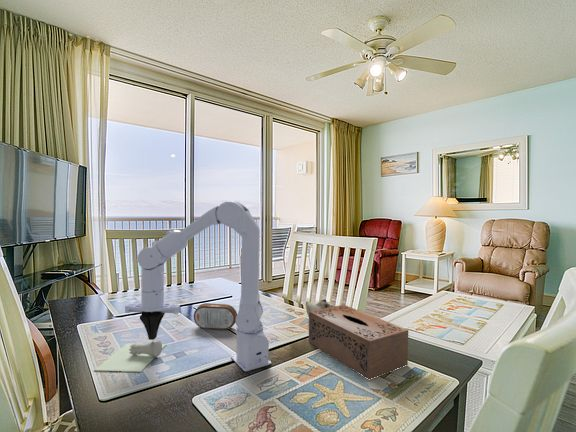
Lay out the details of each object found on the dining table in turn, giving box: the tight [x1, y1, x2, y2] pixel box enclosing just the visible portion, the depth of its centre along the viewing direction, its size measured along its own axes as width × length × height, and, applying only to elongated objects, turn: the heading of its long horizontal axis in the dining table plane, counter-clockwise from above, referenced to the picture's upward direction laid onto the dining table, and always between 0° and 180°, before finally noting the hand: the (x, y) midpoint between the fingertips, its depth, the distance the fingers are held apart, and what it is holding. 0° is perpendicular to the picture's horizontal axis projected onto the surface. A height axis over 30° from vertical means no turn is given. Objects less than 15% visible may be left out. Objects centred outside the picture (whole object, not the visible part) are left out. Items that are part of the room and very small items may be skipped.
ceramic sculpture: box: [305, 299, 336, 318], centre depth 119 cm, size 11×9×15 cm
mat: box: [93, 342, 167, 373], centre depth 90 cm, size 12×16×1 cm
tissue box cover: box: [308, 304, 409, 380], centre depth 94 cm, size 26×14×10 cm, turn 32°
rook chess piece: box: [129, 339, 163, 358], centre depth 90 cm, size 4×4×8 cm
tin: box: [193, 302, 238, 331], centre depth 111 cm, size 15×3×8 cm, turn 84°
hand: (152, 338), depth 89 cm, fingers closed
